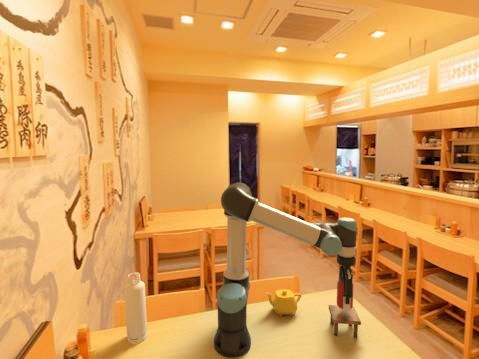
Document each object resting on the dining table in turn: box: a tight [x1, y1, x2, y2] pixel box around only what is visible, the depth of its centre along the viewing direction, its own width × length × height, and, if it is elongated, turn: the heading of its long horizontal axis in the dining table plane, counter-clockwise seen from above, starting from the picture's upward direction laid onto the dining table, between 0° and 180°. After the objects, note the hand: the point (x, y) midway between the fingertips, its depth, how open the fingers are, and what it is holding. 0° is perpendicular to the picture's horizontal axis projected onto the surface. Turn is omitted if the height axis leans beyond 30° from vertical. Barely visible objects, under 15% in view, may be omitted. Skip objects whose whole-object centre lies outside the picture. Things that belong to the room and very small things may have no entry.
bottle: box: [123, 271, 148, 345], centre depth 116 cm, size 8×8×28 cm
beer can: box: [336, 277, 354, 309], centre depth 120 cm, size 7×7×12 cm
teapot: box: [265, 289, 302, 317], centre depth 135 cm, size 18×11×11 cm, turn 95°
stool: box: [328, 304, 362, 339], centre depth 121 cm, size 11×11×8 cm
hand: (344, 305), depth 120 cm, fingers closed on beer can, 7 cm apart
